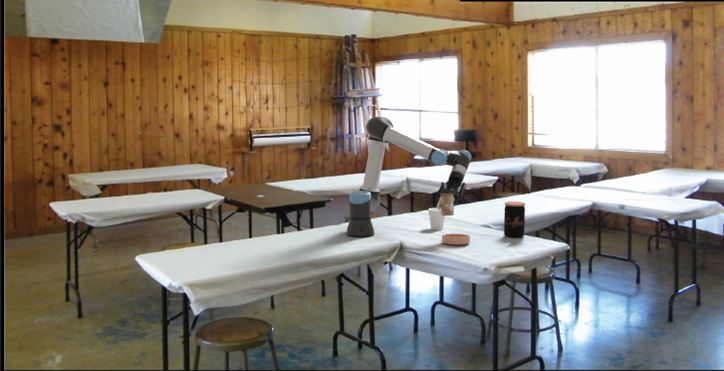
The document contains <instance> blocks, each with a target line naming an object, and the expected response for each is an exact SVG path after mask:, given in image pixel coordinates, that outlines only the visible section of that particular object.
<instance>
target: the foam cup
mask: <svg viewBox="0 0 724 371" xmlns="http://www.w3.org/2000/svg"><path fill="white" fill-rule="evenodd" d="M428 217H429V222H430V223H429V224H430V225H429V226H430V229H431V231H442V230H444V225H445V218H446V217H445V216H442V215H441V208H440V210H438V209H437V207H430V208H428Z"/></svg>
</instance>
